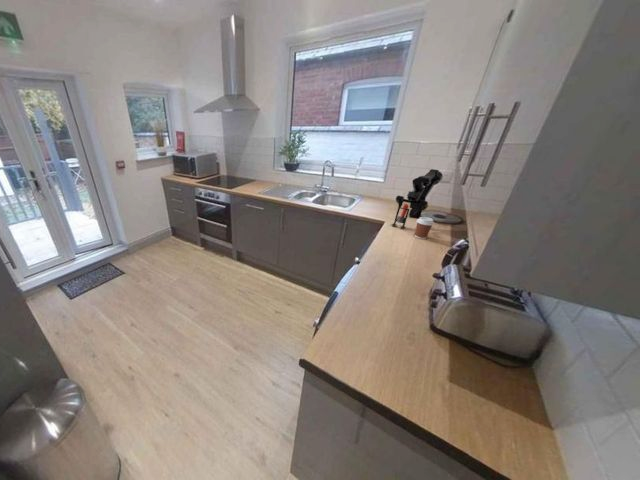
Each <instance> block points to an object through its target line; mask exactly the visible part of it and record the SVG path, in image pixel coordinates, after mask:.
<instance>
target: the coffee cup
mask: <svg viewBox="0 0 640 480" xmlns="http://www.w3.org/2000/svg"><path fill="white" fill-rule="evenodd" d="M434 225H435V222H434V219H433V218H432V217H428V216H420V218H416V227H415V231H414V235H413V236H415V238H418V239H423V240H424V239H425V240H426V239H427V237H428V235H429V233H430V231H431V229H432V227H433V226H434Z"/></svg>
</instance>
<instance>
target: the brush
mask: <svg viewBox="0 0 640 480" xmlns="http://www.w3.org/2000/svg"><path fill="white" fill-rule="evenodd" d="M402 208H405V209H409V204H405V203H404V204H403V205H402ZM405 209H402V212H401V214H400V215H398V217H397V220H396V223H399V224H403V223H404V220H405V216H406V213H407V210H405Z"/></svg>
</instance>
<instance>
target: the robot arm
mask: <svg viewBox="0 0 640 480" xmlns="http://www.w3.org/2000/svg"><path fill="white" fill-rule="evenodd" d="M443 178H444V177H443V173H442V172H440V170H439V169H436V168H435V169H434V168H431V169H429V171H428V172H427V173H426V174H425V175H420V176H418V177H415V178H414V179H413V180H412V188H413V189H412V191H411V190H409V191H408V192H407V195H406V196H407V197H406V198H405V196H403V195H399V194H398V195H397V196H396V197H395V202H396V203H397V204H398V207H401V208H402V207H403V203H409V213H408V216H409V218H413V219H419V218H420V217H421V215H422V213H423V211H426V210H427V208H428V207H429V202H428V201H426V198H427V197H428V195H429V194H430V192H431V190H432V189H433V188H434V186H435V185H438V184H439V183H440V182H441V181H442V179H443ZM398 207H397V208H398Z"/></svg>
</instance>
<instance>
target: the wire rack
mask: <svg viewBox="0 0 640 480" xmlns="http://www.w3.org/2000/svg"><path fill="white" fill-rule="evenodd" d="M403 209H405V208H403V207H402V206H401V207H397V210H396V214H395V217H394V221H393V223H392V224H391V226H392V227H394V228H395V227H397V222H396V220H397V218H398V216H399V213H400V210H403ZM405 210H407V212H406V214H405V217H404V218H405V220H404V223H402V225H401V226H400V229H402V230H405V229H406V226H405V225H406V223H407V218H408V217H409V212H410V208H408V209H405Z"/></svg>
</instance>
